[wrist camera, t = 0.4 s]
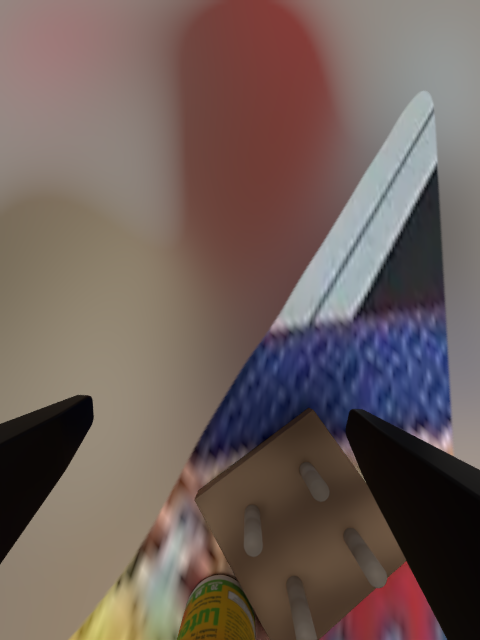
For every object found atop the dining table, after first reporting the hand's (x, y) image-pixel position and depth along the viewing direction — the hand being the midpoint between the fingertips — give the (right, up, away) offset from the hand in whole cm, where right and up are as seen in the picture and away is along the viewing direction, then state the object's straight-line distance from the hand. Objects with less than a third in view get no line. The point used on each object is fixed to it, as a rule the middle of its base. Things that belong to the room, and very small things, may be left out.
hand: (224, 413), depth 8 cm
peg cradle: (+5, -13, +11) cm, 18 cm away
